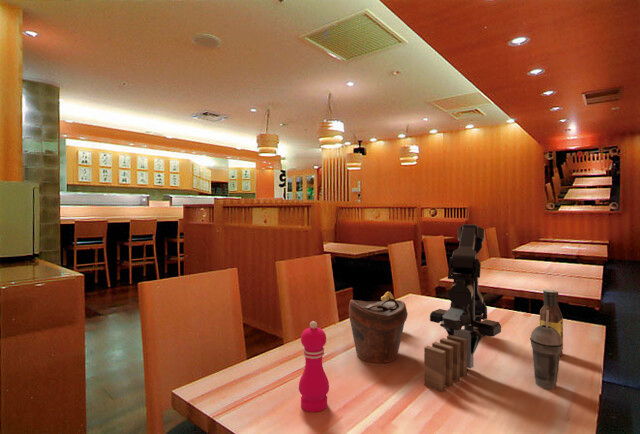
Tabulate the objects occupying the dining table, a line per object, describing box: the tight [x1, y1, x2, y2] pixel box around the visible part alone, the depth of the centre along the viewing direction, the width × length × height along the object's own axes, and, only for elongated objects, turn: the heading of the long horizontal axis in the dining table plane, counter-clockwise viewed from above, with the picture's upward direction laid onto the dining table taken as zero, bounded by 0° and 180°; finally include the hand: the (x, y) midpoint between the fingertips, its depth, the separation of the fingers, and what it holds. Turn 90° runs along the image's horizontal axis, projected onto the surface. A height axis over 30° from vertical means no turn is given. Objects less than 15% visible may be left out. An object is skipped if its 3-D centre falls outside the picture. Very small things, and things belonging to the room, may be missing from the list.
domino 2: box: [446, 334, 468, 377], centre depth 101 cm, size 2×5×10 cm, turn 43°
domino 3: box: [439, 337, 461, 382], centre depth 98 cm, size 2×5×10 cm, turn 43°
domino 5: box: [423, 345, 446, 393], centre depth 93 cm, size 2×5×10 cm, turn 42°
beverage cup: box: [529, 310, 564, 390], centre depth 93 cm, size 7×7×20 cm
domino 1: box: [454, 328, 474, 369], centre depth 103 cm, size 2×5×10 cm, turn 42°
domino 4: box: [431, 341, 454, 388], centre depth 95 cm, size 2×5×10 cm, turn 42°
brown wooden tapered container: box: [348, 298, 408, 364], centre depth 113 cm, size 18×20×18 cm
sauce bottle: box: [539, 289, 564, 357], centre depth 113 cm, size 7×6×20 cm
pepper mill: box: [298, 320, 330, 413], centre depth 85 cm, size 7×7×20 cm
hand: (463, 351), depth 103 cm, fingers closed on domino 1, 5 cm apart
